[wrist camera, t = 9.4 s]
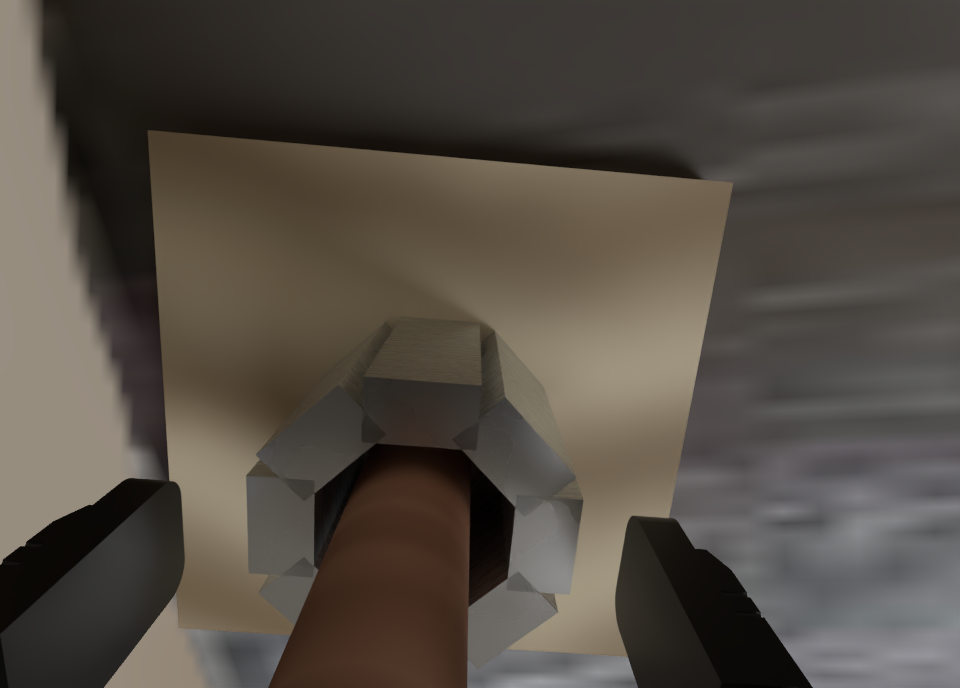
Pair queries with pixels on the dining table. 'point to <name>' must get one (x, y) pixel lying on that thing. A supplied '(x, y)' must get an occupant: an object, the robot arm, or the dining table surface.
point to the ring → (439, 424)
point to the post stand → (386, 298)
